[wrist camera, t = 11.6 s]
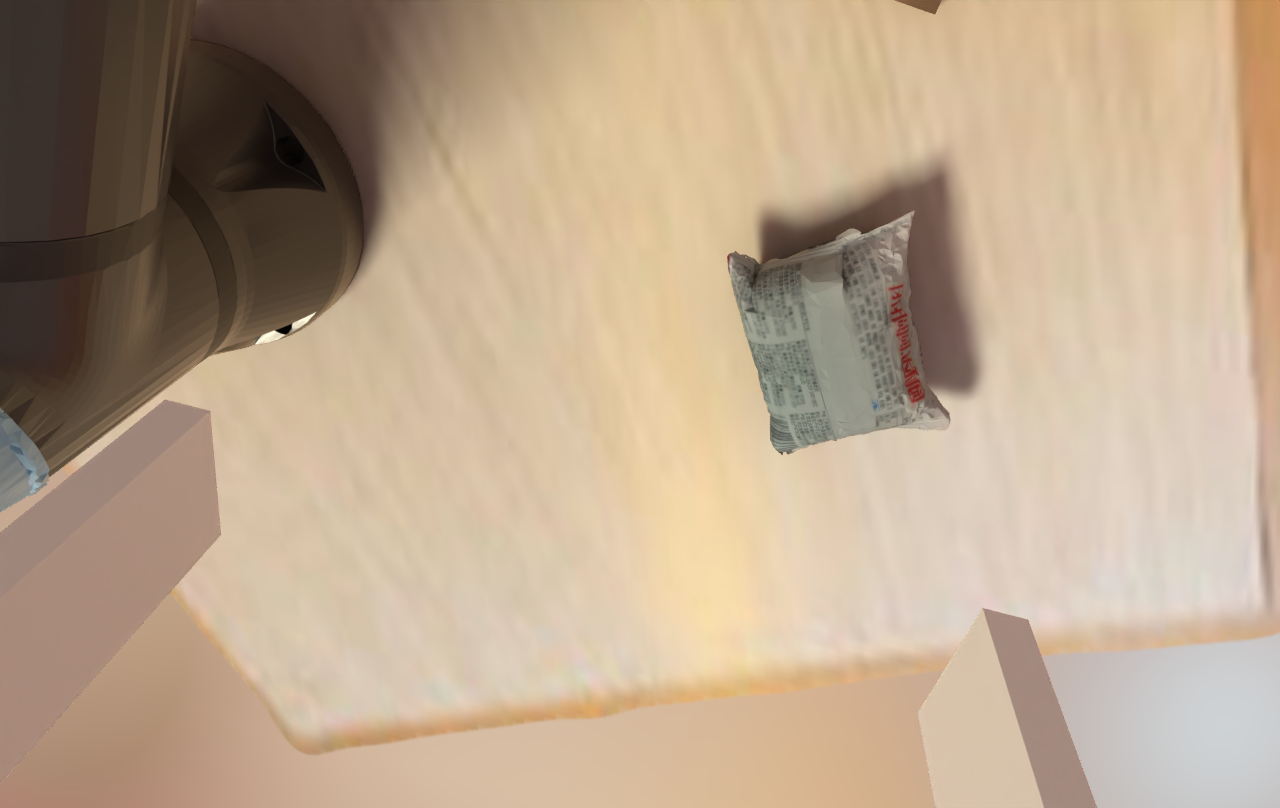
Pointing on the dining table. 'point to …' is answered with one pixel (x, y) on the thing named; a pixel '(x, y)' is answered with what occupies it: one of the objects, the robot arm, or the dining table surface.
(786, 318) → the packaged food
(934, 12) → the stand
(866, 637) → the dining table surface
